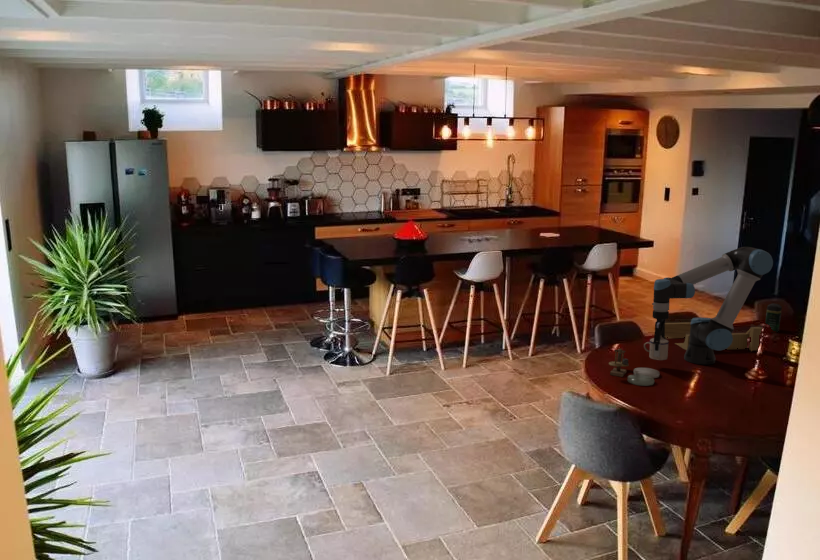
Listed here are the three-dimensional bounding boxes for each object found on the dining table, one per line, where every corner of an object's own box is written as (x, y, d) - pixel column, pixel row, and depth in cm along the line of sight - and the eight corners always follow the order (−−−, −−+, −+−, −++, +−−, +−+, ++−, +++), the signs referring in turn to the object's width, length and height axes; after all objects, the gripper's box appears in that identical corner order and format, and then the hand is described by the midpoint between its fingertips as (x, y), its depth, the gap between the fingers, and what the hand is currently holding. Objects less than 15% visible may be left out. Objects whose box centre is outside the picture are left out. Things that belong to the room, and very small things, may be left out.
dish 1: (661, 373, 338) (661, 370, 338) (656, 379, 328) (657, 376, 327) (636, 369, 344) (636, 366, 344) (631, 375, 334) (631, 372, 333)
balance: (617, 367, 347) (619, 340, 344) (629, 369, 344) (631, 342, 341) (606, 378, 328) (608, 350, 326) (619, 380, 325) (621, 352, 323)
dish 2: (656, 380, 327) (656, 377, 327) (651, 387, 317) (651, 384, 316) (630, 376, 333) (630, 373, 332) (624, 382, 322) (625, 379, 322)
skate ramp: (721, 337, 412) (724, 310, 409) (760, 353, 377) (763, 325, 374) (659, 338, 405) (661, 312, 402) (693, 355, 371) (695, 326, 368)
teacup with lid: (670, 357, 347) (671, 334, 345) (664, 361, 340) (665, 338, 337) (646, 353, 354) (647, 331, 352) (640, 357, 347) (641, 335, 345)
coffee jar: (777, 336, 413) (781, 306, 410) (763, 334, 418) (766, 304, 414) (779, 333, 421) (783, 303, 418) (765, 331, 426) (768, 301, 422)
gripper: (657, 305, 353) (654, 347, 357) (648, 314, 334) (646, 358, 338) (672, 306, 349) (670, 349, 353) (664, 315, 330) (662, 360, 334)
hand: (658, 353), depth 345 cm, fingers closed on teacup with lid, 9 cm apart
